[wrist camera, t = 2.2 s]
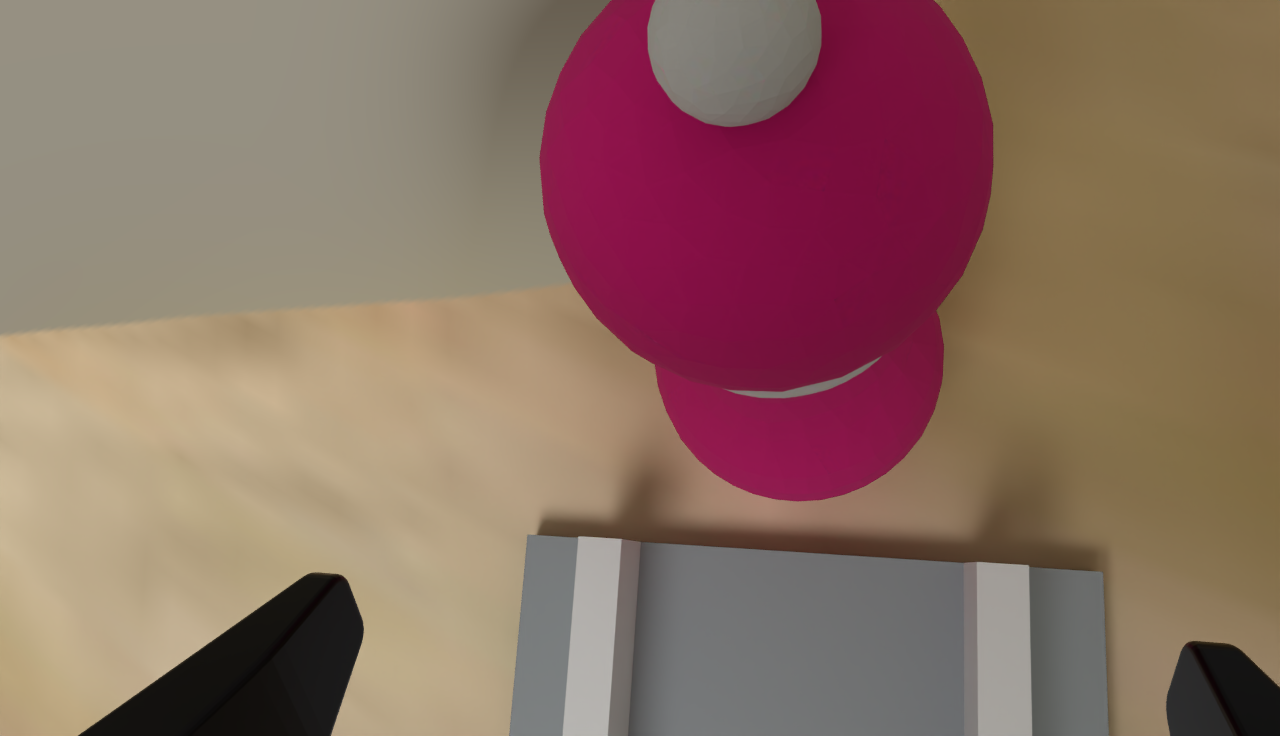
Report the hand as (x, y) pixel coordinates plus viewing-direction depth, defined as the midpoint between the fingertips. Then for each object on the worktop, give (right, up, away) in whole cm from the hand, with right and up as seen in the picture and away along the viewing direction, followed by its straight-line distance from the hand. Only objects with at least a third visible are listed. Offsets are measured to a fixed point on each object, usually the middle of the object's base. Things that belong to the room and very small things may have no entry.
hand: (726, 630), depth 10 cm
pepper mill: (+4, +2, +18) cm, 18 cm away
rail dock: (+3, -8, +16) cm, 18 cm away
